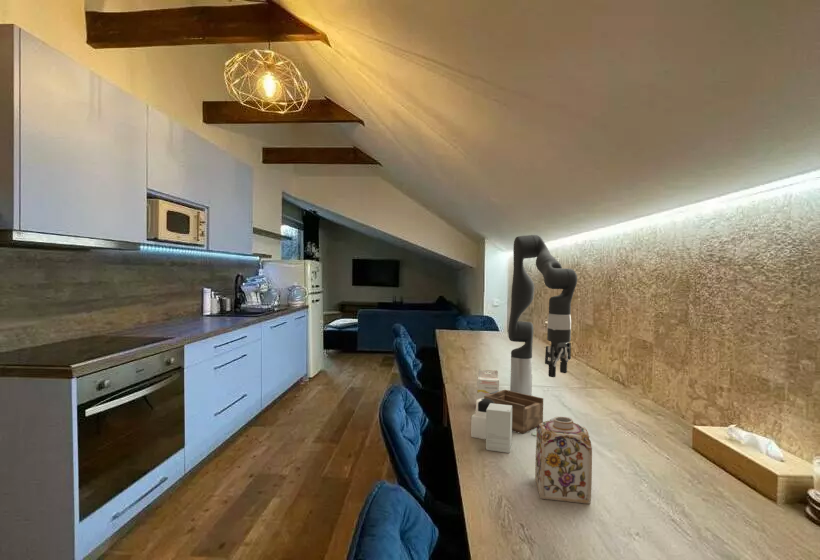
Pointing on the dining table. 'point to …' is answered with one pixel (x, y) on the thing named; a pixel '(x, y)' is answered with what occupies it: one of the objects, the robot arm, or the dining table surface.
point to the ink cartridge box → (487, 383)
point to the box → (521, 409)
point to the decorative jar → (563, 461)
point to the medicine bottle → (480, 418)
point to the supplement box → (499, 427)
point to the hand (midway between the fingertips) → (557, 374)
